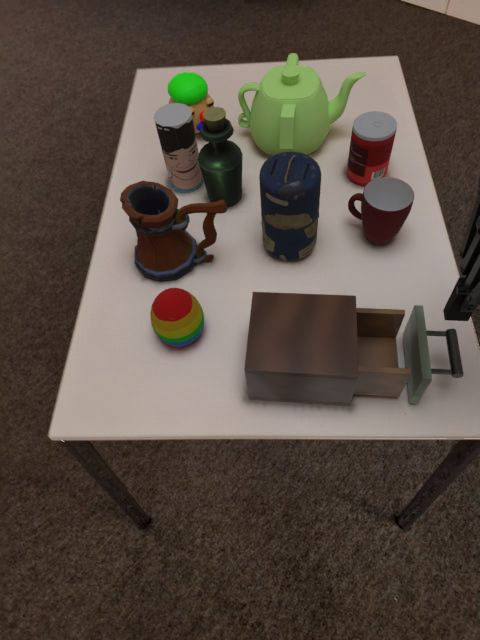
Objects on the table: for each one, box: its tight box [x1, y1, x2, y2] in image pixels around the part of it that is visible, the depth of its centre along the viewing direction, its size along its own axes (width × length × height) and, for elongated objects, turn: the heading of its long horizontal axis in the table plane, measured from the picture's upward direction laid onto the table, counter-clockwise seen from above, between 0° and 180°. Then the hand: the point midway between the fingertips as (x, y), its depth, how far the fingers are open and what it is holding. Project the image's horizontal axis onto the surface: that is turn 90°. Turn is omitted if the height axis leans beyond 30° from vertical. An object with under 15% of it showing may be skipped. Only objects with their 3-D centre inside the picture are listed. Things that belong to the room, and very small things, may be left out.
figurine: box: [167, 71, 215, 134], centre depth 101 cm, size 11×10×12 cm
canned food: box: [346, 110, 398, 187], centre depth 90 cm, size 8×8×11 cm
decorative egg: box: [149, 287, 205, 347], centre depth 74 cm, size 8×8×10 cm
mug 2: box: [347, 176, 415, 245], centre depth 82 cm, size 11×8×10 cm
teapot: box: [237, 52, 367, 156], centre depth 97 cm, size 19×20×14 cm
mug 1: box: [119, 180, 228, 282], centre depth 80 cm, size 18×12×15 cm, turn 81°
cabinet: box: [244, 291, 359, 406], centre depth 69 cm, size 15×13×10 cm
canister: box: [258, 152, 322, 262], centre depth 79 cm, size 10×10×18 cm
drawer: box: [353, 304, 465, 405], centre depth 68 cm, size 18×11×8 cm, turn 84°
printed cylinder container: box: [153, 103, 204, 194], centre depth 91 cm, size 7×7×15 cm
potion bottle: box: [198, 106, 244, 208], centre depth 87 cm, size 8×8×18 cm
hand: (455, 315), depth 59 cm, fingers closed
